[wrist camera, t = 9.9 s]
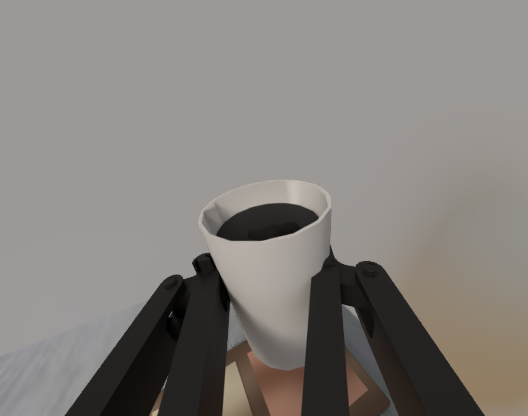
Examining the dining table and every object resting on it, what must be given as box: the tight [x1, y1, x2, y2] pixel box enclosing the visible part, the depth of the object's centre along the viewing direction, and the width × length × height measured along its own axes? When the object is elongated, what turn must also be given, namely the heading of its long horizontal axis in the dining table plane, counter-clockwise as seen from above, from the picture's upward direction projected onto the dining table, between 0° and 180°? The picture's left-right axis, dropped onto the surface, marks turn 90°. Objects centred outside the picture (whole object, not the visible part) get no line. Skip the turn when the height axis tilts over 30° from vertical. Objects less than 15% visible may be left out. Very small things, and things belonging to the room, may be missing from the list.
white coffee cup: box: [198, 180, 332, 371], centre depth 13 cm, size 7×7×10 cm
